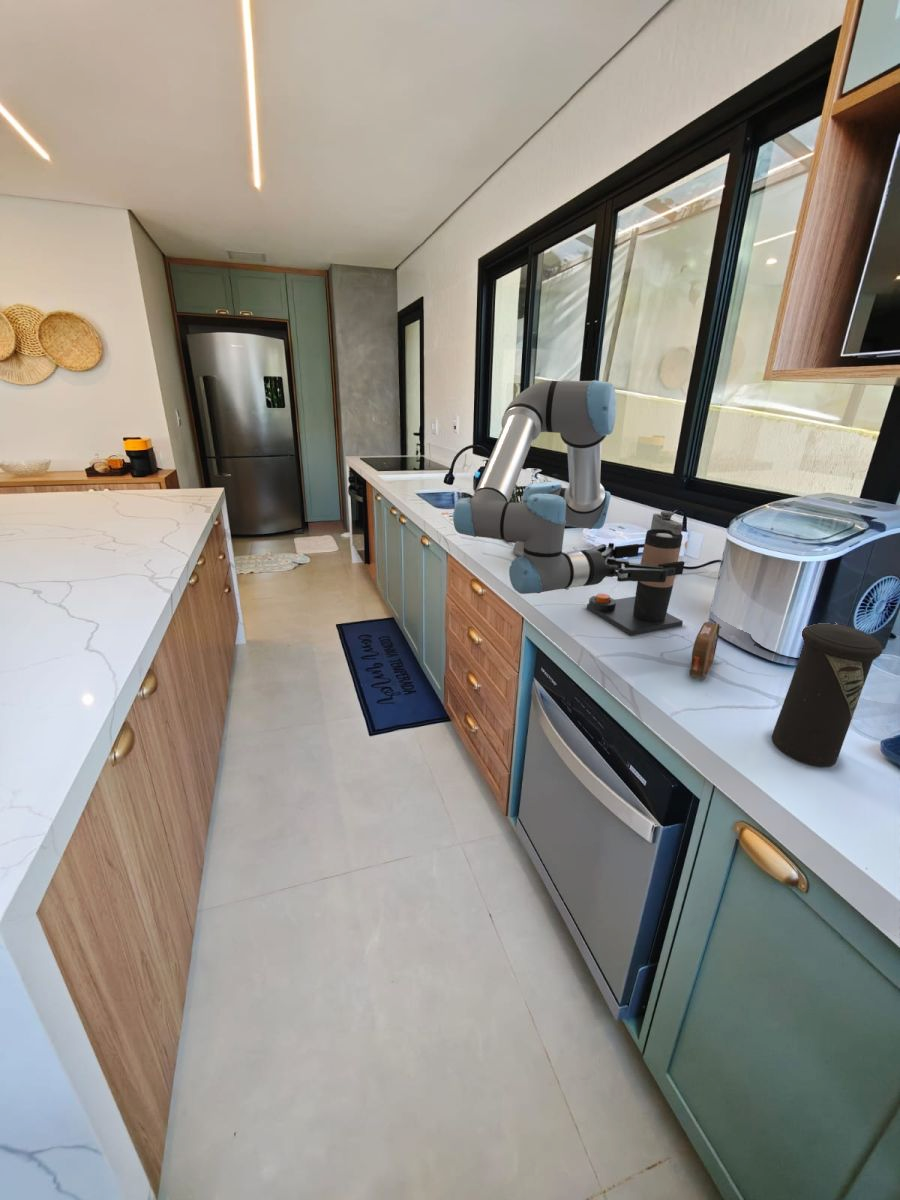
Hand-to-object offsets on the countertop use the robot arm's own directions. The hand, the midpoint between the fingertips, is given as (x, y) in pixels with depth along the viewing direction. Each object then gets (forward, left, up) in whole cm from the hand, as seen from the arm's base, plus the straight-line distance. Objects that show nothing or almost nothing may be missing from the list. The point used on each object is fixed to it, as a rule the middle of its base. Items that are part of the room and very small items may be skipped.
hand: (658, 558), depth 113 cm
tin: (+21, -6, -16) cm, 27 cm away
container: (+45, -11, -16) cm, 49 cm away
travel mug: (0, 0, -14) cm, 14 cm away
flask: (-29, +30, -16) cm, 45 cm away
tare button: (-8, -7, -13) cm, 17 cm away
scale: (-3, -2, -16) cm, 16 cm away
